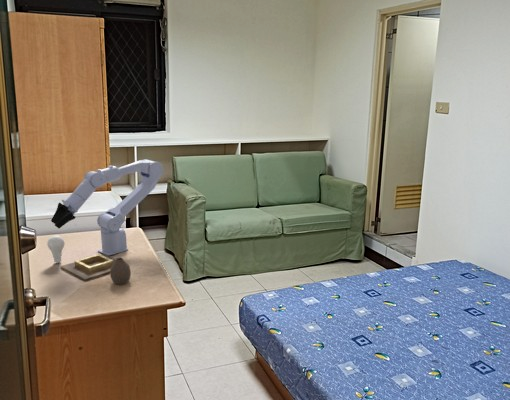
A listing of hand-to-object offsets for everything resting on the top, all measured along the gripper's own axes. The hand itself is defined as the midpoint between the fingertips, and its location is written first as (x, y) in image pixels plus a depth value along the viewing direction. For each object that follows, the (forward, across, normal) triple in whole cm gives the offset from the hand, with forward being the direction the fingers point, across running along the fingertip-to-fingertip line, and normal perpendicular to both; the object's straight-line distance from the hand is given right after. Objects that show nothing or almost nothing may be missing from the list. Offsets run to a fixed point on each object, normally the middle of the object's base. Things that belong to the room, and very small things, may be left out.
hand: (54, 224), depth 185 cm
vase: (+4, +12, +34) cm, 36 cm away
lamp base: (+4, -2, +21) cm, 22 cm away
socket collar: (+4, -2, +21) cm, 22 cm away
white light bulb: (+10, -9, +8) cm, 16 cm away
